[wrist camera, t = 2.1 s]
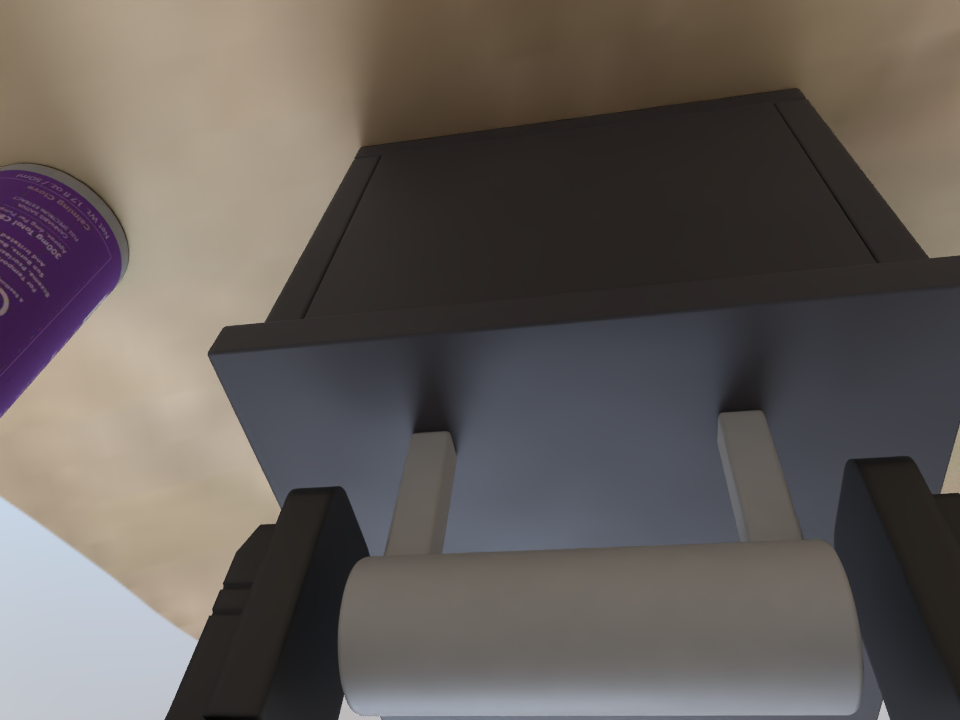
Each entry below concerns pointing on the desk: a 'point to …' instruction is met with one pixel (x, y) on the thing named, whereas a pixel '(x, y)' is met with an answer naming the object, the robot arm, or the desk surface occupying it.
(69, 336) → the container
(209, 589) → the desk surface
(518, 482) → the lid
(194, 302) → the desk surface
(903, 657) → the robot arm
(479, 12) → the desk surface
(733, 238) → the dark grey open box
